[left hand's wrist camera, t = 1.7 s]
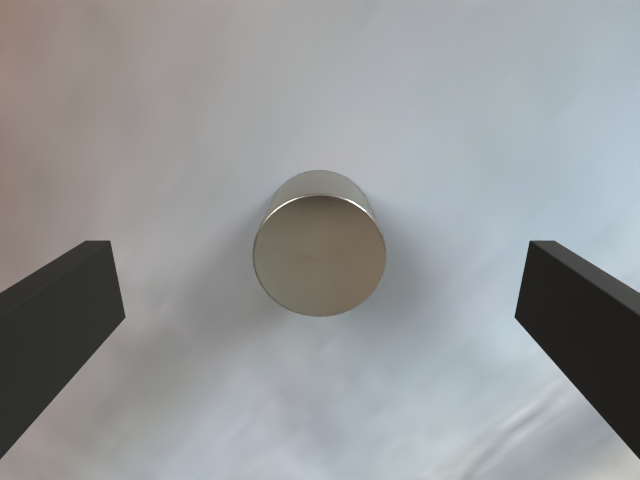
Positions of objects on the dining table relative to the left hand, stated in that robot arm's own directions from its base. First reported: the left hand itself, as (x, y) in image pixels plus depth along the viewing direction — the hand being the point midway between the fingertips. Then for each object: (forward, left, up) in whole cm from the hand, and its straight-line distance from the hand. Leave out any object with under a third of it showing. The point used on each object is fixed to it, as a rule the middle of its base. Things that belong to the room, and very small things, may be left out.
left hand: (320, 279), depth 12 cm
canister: (0, 0, -6) cm, 6 cm away
